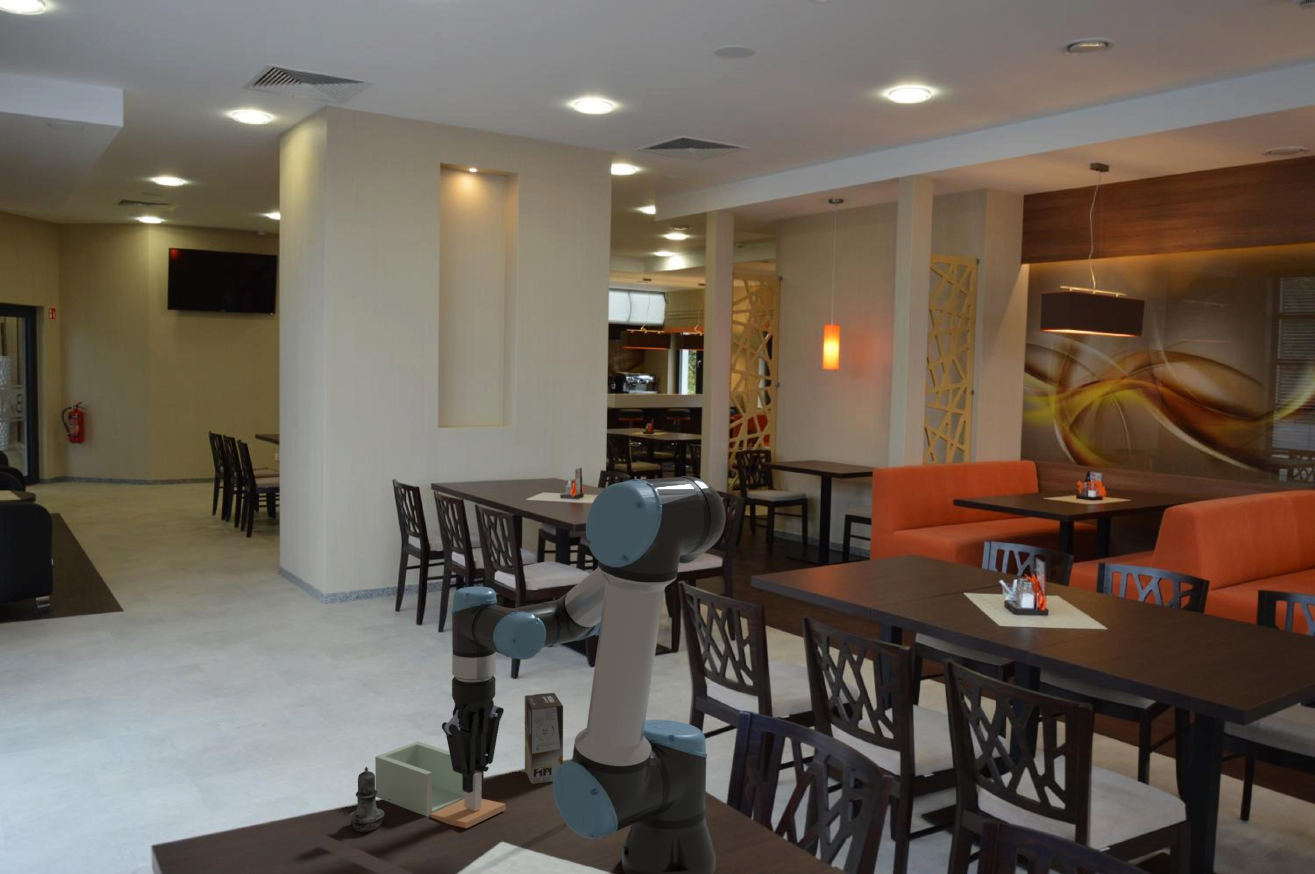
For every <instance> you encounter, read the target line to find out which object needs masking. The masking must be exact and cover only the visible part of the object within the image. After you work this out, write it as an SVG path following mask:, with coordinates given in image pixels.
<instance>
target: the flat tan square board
mask: <svg viewBox="0 0 1315 874" xmlns="http://www.w3.org/2000/svg"><path fill="white" fill-rule="evenodd" d="M506 810H507V804H506V803H503V802H499V801H494V800H490V799H485V798H481V809H479V810H477V811H473V810H471V809H468V808H465V807H464V799H463V800H461V801H458V802H456V803H454V804H452V805H449V806H447V807H445V808H443V809H440V810H438V811H436V812H434V813H431V814H430V815H429V816H430V818H432V819H434V820H437V821H440V822H442V823H444V824H447V825H451V826H454V827H458V828H463V829H468V828H471V827H473V826H474V825H477V824H478V823H480V822H483V821H485V820H487V819H489V818H491V817H494V816H495V815H497V814H500V813H501V812H503V811H506Z"/></svg>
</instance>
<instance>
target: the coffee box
mask: <svg viewBox="0 0 1315 874" xmlns="http://www.w3.org/2000/svg"><path fill="white" fill-rule="evenodd" d="M563 763H564V705H563V704H562V702H561V701H560V700H559V698H558V696H557V695H556V693H555V692H548V693H547V692H545V693H536V694H535V693H534V694H530V695H529V694H528V695H524V773H525V774H526V775H527V777H528V779H529V781H530V783H531V784H532V785H533V784H534V785H535V784H542V783H543V784H544V783H550V782H551V783H553V778H554V774H555V772H556V770H557V768H558V767H560V766H561V765H562V764H563ZM526 770H527V771H526Z"/></svg>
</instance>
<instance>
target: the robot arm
mask: <svg viewBox="0 0 1315 874" xmlns="http://www.w3.org/2000/svg"><path fill="white" fill-rule="evenodd" d="M585 521H586V523H585V534H586V540H587V541H589V542H590V544H589V546H588V548H589V550H590V552H591V553H592V555H593V556H594V558H595V559H596V560H598V562H597V568H595V570H593V571H592V572H590V574H588V575H587V576H586V577H584V578H583V579H582V580H581V581H579V583H577V584H576V585H575V586H573V587H572V588H571V589H570V590H569V591H567V592H566V593H565V594H564V595H562V596H560V597H559V598H558V599H556V600H551V601H547V602H540V603H536V604H531V605H525V606H520V607H515V608H513V607H512V608H510V607H504V606H500V605H499V604H498V599H497V593H496V591H495V590H494V588H491V587H487V586H467V587H461V588H459V589H457V590H456V591H455V592H454V594H453V597H452V599H453V600H452V611H451V639H452V640H451V643H452V644H451V645H452V646H451V647H452V654H451V655H452V656H451V658H452V659H451V662H452V663H451V667H452V668H451V669H452V670H451V674H452V675H453V678H452V679H451V698H452V700H453V701H454V707H453V710H452V717H451V718H450V720H449V721H448V722H446V721H443V723H442V724H441V729H442V731H443V732H444V734H445V737H446V741H447V745H448V746H447V747H448V751H449V752H450V757H451V762H452V768H453V771H454V772H457V773H460V774H462V785H463V786H462V789H463V791H464V792H465V795H464V807H465V808H468V809H471V810H473V811H477V810H479V809H481V799H482V788H483V787H484V784H485V783H484V777H485V775H484V774H485V772H486V773H487V772H488V771H489V768H490V767H489V766H487V765H488V764H489V765H491V764H492V763H493V761H494V756H495V751H496V744H497V738H498V732H499V728H500V727H499V726H500V721H501V719H502V717H503V715H504V712H505V711H504V710H505V709H504V708H503V707H500V706H496V705H495V701H494V698H495V696H496V676H495V674H496V668H497V667H496V665H497V663H496V661H497V659H496V658H497V657H496V656H497V653H498V654H501V655H503V656H505V657H507V658H510V659H517V660H531V659H532V658H534V657H535V656H536V655H537V654H538V653H540V652H541V650H542V649H543V648H547V647H548V648H549V647H552V646H556V645H561V644H564V643H571V642H573V641H574V642H575V641H581V640H582V641H583V640H585V639H586V638H589V637H592V636H594V635H595V634H597V633H599V634H598V642H597V647H596V657H595V663H594V670H593V677H592V687H591V694H590V700H589V706H588V707H589V708H588V713H587V714H588V715H587V722H586V727H585V728H584V729H582V730H581V731H579V732H578V733H577V734H576V736H575V739H574V745H573V749H572V750H573V752H572V757H571V760H566V761H563V764H562V765H561V766H560V767H558V768H557V770H556V772H555V774H554V778H553V782H552V792H553V798H554V802H555V805H556V807H557V810H558V811H559V813H560V816H561V817H562V819H563V821H564V822H565V823H566V825H567V826H568V827H569V828H570V829H571V830H572V831H573V832H574V834H577V835H578V836H580V837H581V838H584V839H589V840H596V839H599V838H602V837H605V836H611V835H613V834H615V833H616V832H618V831H620V830H623V829H624V828H627V827H629V830H628V833H627V835H626V840H625V842H624V845H623V849H622V853H621V867H622V868H621V869H622V871H623V873H624V874H715V871H716V863H717V862H716V860H717V859H716V856H717V855H716V851H715V850H716V849H715V847H714V845H713V841H712V838H711V835H710V831H709V828H708V825H707V821H706V801H707V800H706V796H707V793H706V790H707V787H706V786H707V783H706V782H707V758H708V753H707V747H706V743H707V742H706V736H705V733H703V731H702V730H701V729H699V728H698V727H696V726H694V725H692V724H689V723H685V722H682V721H678V720H677V721H676V720H667V719H647V713H648V705H649V698H650V692H651V685H652V677H653V672H654V671H653V670H654V664H655V663H654V662H655V659H656V653H657V651H656V650H657V644H658V639H659V638H658V636H659V629H660V624H661V623H660V622H661V615H662V609H663V603H664V595H665V590H666V587H667V586H668V585H670V584H672V582H675V581H676V579H677V578H678V572H679V565H688V564H691V562H693V561H695V560H696V559H697V558H699V557H700V556H701V555H703V554H705V552H707V551H708V550H709V549H711V548H712V547H713V546H714V545H715V544H716V543H717V542H718V541H719V539H720V538H721V536H722V534H723V532H724V529H725V525H726V509H725V504H724V502H723V500H722V497H721V495H720V494H719V493H718V491H717V490H716V489H715V488H714V487H713V486H712V485H710V484H709V483H708V482H706V481H705V480H702V479H701V478H698V477H694V476H689V475H687V476H684V475H682V476H674V477H663V478H651V479H649V478H648V479H639V478H635V479H629V480H625V481H623V482H615V483H612V484H611V485H609V486H607V487H605V488H604V489H603V490H602V491H600V492H599V493H598V494H597V495H596V496H595V498H594V499H593V501H592V503H591V504H590V507H589V510H588V513H587V516H586V520H585Z"/></svg>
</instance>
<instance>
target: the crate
mask: <svg viewBox="0 0 1315 874" xmlns="http://www.w3.org/2000/svg"><path fill="white" fill-rule="evenodd" d="M374 761H375V763H374V764H375V766H374V767H375V770H374V771H375V790H376V791H377V795H376V798H378V799H379V800H380V799H381V800H382V801H385V802H388V803H391V804H394V805H396V806H398V807H401V808H404V809H406V810H408V811H411V812H414V813H417V814H420V815H422V816H425V817H429V816H430V814H431V813H434V812H436V811H438V810H440V809H443V808H445V807H447V806H449V805H452V804H454V803H456V802H458V801H461V800H463V799H464V795H465V792H464V791H463V789H462V786H463V785H462V774H460V773H457V772H454V771H453V768H452V762H451V757H450V752H449V750H446V749H443V748H441V747H436V746H434V745H430V744H427V743H425V742H421V741H415V742H413V743H410V744H407V745H404V746H401V747H399V748H396V749H394V750H389V751H387V752H385V753H382V754H379V755H376V756H375V760H374ZM388 799H391V800H388Z"/></svg>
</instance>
